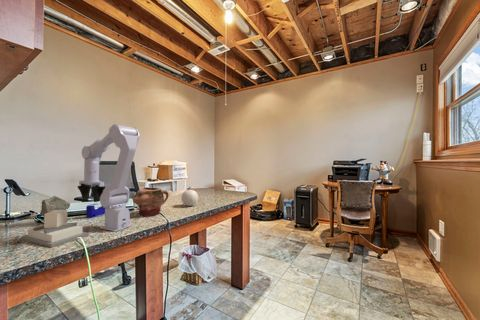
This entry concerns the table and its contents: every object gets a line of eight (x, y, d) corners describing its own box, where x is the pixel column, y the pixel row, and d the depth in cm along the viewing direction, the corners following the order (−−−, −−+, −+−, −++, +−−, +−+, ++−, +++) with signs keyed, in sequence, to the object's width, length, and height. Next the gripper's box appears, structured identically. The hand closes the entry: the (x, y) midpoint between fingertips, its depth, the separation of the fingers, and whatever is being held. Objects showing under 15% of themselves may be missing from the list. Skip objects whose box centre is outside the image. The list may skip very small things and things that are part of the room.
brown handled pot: (159, 208, 127) (160, 185, 127) (174, 211, 121) (174, 187, 121) (127, 216, 110) (128, 189, 110) (142, 220, 104) (143, 191, 104)
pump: (69, 221, 85) (69, 208, 84) (57, 227, 77) (57, 213, 77) (57, 221, 84) (58, 209, 84) (44, 227, 76) (44, 214, 76)
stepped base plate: (88, 235, 82) (88, 223, 82) (51, 247, 71) (51, 234, 71) (59, 229, 88) (59, 218, 88) (21, 238, 77) (21, 226, 77)
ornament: (185, 203, 142) (186, 185, 142) (200, 204, 140) (200, 186, 140) (178, 207, 132) (178, 187, 132) (194, 208, 130) (194, 188, 130)
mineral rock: (68, 211, 117) (69, 192, 117) (75, 214, 110) (75, 195, 110) (36, 215, 107) (37, 195, 107) (41, 220, 100) (42, 198, 100)
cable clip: (101, 211, 118) (102, 200, 118) (109, 212, 117) (109, 201, 117) (83, 217, 106) (83, 205, 106) (91, 218, 105) (91, 206, 105)
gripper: (110, 172, 102) (110, 200, 102) (89, 170, 107) (89, 198, 107) (95, 173, 95) (95, 203, 95) (74, 171, 100) (74, 200, 100)
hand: (91, 200), depth 101 cm, fingers open, 7 cm apart
